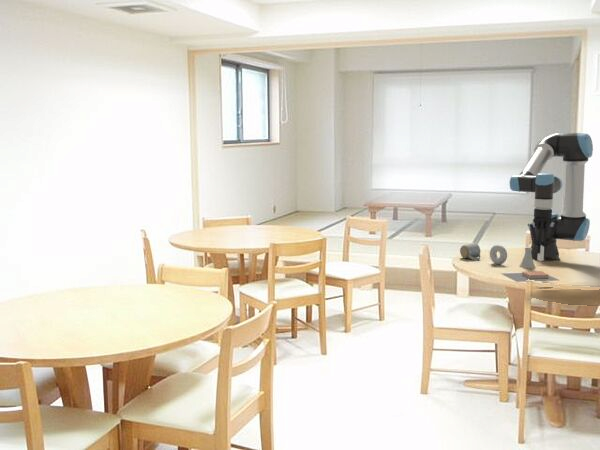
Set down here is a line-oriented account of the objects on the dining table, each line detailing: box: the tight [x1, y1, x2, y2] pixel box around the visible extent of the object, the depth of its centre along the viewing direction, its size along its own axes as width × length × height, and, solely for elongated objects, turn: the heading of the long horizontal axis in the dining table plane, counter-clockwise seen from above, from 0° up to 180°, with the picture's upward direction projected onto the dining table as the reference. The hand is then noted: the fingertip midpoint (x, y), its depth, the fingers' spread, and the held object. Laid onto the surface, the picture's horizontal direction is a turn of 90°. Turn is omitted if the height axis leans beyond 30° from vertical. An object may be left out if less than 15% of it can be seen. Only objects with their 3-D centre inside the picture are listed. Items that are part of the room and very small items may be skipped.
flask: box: [518, 247, 537, 269], centre depth 310 cm, size 7×7×10 cm
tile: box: [521, 270, 550, 279], centre depth 290 cm, size 2×7×9 cm
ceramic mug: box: [459, 242, 481, 261], centre depth 334 cm, size 11×8×8 cm
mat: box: [501, 272, 559, 283], centre depth 289 cm, size 20×16×1 cm
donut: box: [489, 244, 508, 265], centre depth 319 cm, size 10×3×10 cm, turn 32°
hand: (540, 260), depth 289 cm, fingers closed
